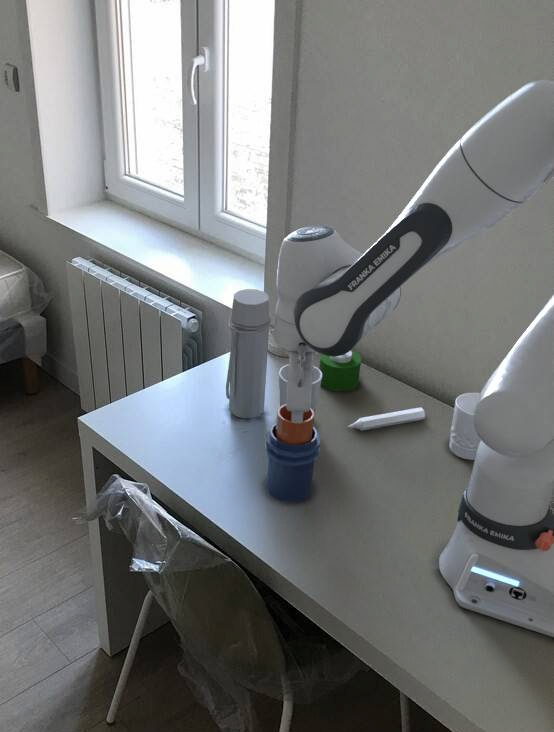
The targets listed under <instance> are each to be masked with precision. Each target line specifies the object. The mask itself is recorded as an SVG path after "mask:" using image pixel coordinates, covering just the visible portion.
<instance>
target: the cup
mask: <svg viewBox="0 0 554 732" xmlns="http://www.w3.org/2000/svg"><path fill="white" fill-rule="evenodd" d="M288 368H289V363H288V364H285V365H283V366H282V367H281V368H279V370H278V388H279V408H280V407H281V406H282V405H285V404H286V400H287V384H288ZM321 380H322V372H321V371H320V370H319V367H316V365H313V382H312V396H311V407H310V408H311V409H313V411H314V414H315V415H316V409H317V404H318V399H319V393H320V389H321V386H322V385H321Z"/></svg>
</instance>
